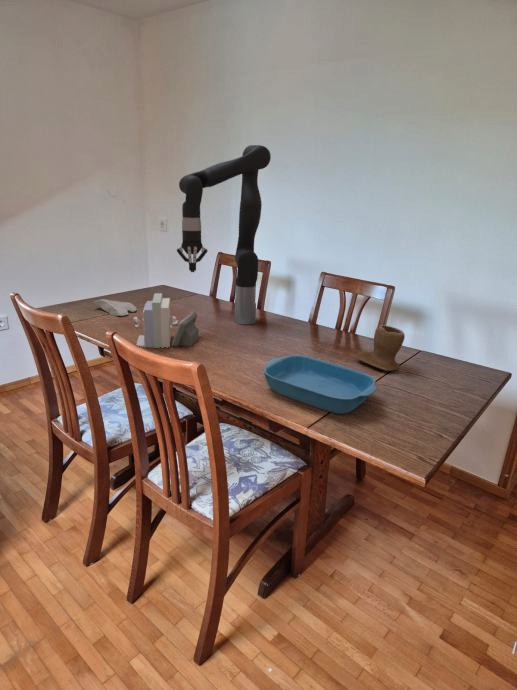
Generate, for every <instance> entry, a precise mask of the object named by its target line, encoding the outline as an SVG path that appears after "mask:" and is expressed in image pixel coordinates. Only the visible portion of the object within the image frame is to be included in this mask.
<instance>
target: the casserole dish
mask: <svg viewBox="0 0 517 690" xmlns="http://www.w3.org/2000/svg"><path fill="white" fill-rule="evenodd" d="M263 374H264V377H265V380H266V382H267V384H268V386H269V387H270V388H269V389H271V390H272V391H274V392H275V393H277V394H279V395H282V396H283V397H287V398H289V399H292V400H294V401H297V402H300V403H302V404H303V403H304V404H306V405H308V406H311V407H314V408H318V409H320V410H323V411H326V412H328V413H333V414H338V415H339V414H340V415H343V414H344V415H345V414H348V413H350V412H352V411H353V410H355V409H357V408H358V407H359V406H360V405H362V404H363V403H364V402H365V401H366V400H367V399H368V398H369V397H371V396H372V395H373V394H375V393H376V392H377V386H376V379H375V378H374V377H373V376H372V375H370V374H367V373H365V372H362V371H359V370H356V369H353V368H349V367H346V366H342V365H338V364H336V363H332V362H328V361H326V360H323V359H319V358H315V357H313V356H306V355H303V354H302V355H301V354H300V355H299V354H291V355H287V356H281V357H276V358H273V359H271V360H269V361H267V362H266V363H265V367H264V368H263Z"/></svg>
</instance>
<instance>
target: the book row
mask: <svg viewBox="0 0 517 690" xmlns="http://www.w3.org/2000/svg"><path fill="white" fill-rule="evenodd" d="M142 318H143V320H142V321H143V323H142V324H143V325H142V326H143V329H144V330H143V334H140V335H139V336H138V338H137V342H136V344H135V346H136V345H138V346H140V347H139V348H147V347H148V348H154V349H161V348H162V349H165V348H164V347H166V349H167V348H168V347H170V348H171V339H172V329H171V325H172V322H171V320H172V319H171V318H172V317H171V298H170V297H166V298H165V297H163V293H161V292H160V293H158V292H157V293H154V294H153V298H152V300H147V301H146V303H144V307H143V311H142ZM160 347H161V348H160ZM168 349H169V348H168Z"/></svg>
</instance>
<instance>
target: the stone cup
mask: <svg viewBox="0 0 517 690" xmlns="http://www.w3.org/2000/svg"><path fill="white" fill-rule="evenodd" d="M405 337H406V336H405V332H403V330H401V329H399V328H396V327H394V326H390V325H385V324H380V325H379V326H377V328H376V329H375V332H374V336H373V351H363V350H362V351H360V352H358V353H356V354H355V355H354V358H355V360H358V361H360V362H362V363H364V364H366V365H369V366H371V367H374V368H377V369H379V370H383V371H385V372H393V371H396V370H398V369H399V368H400V364H399V363H398V362H396V357H397V355H398V352H399V351H400V349H401V347H402V346H403V343H404V341H405Z"/></svg>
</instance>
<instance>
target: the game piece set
mask: <svg viewBox="0 0 517 690" xmlns="http://www.w3.org/2000/svg"><path fill="white" fill-rule="evenodd" d="M141 320H142V321H143V317H142V319H141ZM141 320H140V319H139V318H138V317H137V316H134V317H133V321H135V325H134V327H135V328H140V325H139V324H140V323H141ZM172 325H174V326H177V325H179V320H178V319H177V317H176V316H172V324H171V330H172V329H173V326H172ZM143 331H144V328H143Z"/></svg>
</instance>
